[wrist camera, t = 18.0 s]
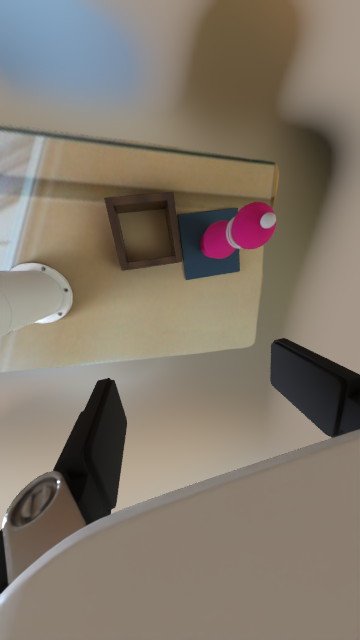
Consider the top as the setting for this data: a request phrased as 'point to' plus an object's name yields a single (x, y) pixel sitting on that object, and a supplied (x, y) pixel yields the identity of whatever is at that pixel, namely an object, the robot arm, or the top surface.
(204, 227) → the mat
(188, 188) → the top surface
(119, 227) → the stand
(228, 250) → the pepper mill
